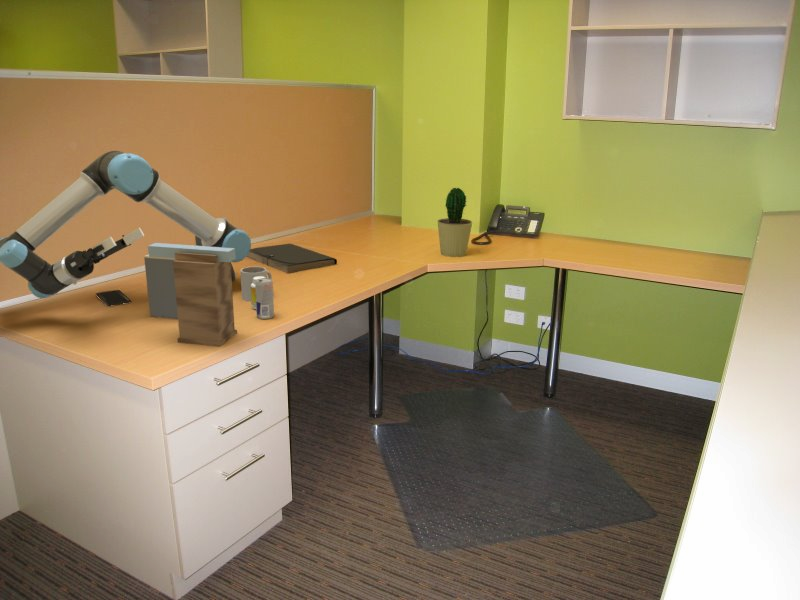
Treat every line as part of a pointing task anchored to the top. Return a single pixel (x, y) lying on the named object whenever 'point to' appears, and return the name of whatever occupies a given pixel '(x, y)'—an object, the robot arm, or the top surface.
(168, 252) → the batten
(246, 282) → the mug
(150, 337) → the top surface
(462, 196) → the potted cactus
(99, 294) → the phone
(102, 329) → the top surface
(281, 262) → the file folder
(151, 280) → the block
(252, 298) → the supplement bottle
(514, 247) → the top surface
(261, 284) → the energy drink
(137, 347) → the top surface
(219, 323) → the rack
